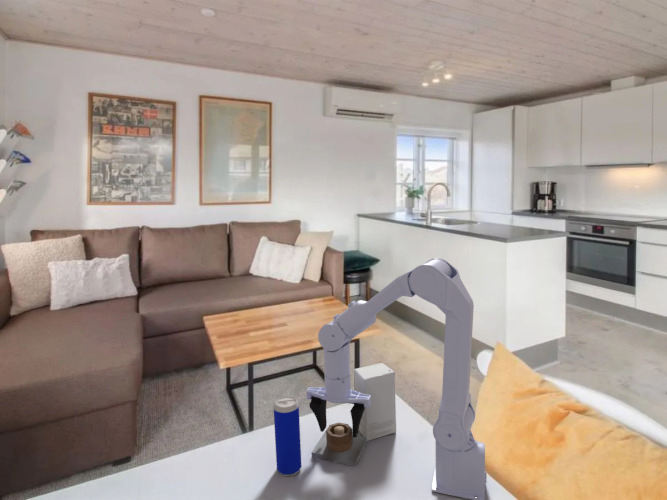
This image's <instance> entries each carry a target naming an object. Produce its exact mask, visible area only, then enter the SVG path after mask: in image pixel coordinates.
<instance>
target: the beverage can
mask: <svg viewBox="0 0 667 500" xmlns="http://www.w3.org/2000/svg"><path fill="white" fill-rule="evenodd" d="M273 418H274V419H273V420H274V422H273V423H274V424H273V425H274V439H275V443H274V444H275V456H276V457H275V460H276V470H277V472H278V473H279V474H280V475H282V476H284V477H293V476H295V475H296V474H298V473H299V472H300V470H301V469H302V451H301V450H302V449H301V446H302V445H301V428H300V427H301V426H300V405H299V402H298V399H297V398H296V397H294V396H289V395H287V396H281V397H279V398H277V399H276V400H275V401H274V404H273Z"/></svg>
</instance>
